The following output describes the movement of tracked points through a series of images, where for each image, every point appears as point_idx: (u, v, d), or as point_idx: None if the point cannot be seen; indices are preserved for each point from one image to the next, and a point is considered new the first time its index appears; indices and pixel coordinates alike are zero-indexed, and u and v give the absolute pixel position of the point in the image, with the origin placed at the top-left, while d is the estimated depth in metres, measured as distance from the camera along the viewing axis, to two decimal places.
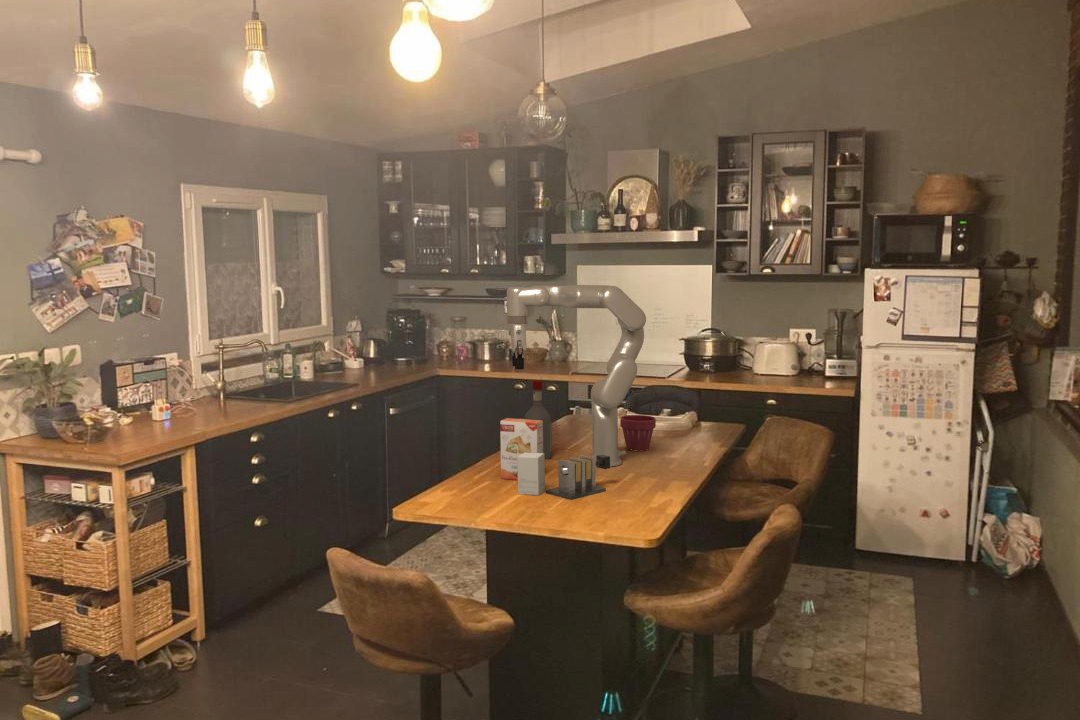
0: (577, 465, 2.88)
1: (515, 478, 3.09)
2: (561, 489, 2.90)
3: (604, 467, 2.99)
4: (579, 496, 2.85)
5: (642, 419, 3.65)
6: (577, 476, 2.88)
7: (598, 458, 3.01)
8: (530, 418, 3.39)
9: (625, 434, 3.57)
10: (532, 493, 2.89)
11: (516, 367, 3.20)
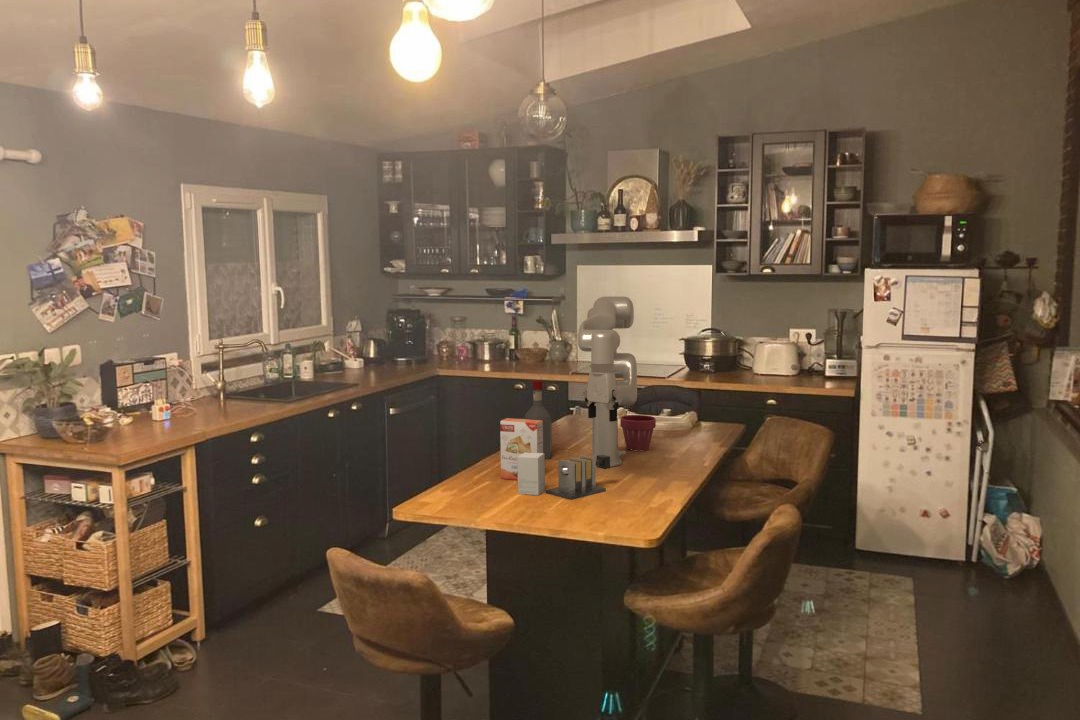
0: (577, 465, 2.88)
1: (515, 478, 3.09)
2: (561, 489, 2.90)
3: (604, 467, 2.99)
4: (579, 496, 2.85)
5: (642, 419, 3.65)
6: (577, 476, 2.88)
7: (598, 458, 3.01)
8: (530, 418, 3.39)
9: (625, 434, 3.57)
10: (532, 493, 2.89)
11: None
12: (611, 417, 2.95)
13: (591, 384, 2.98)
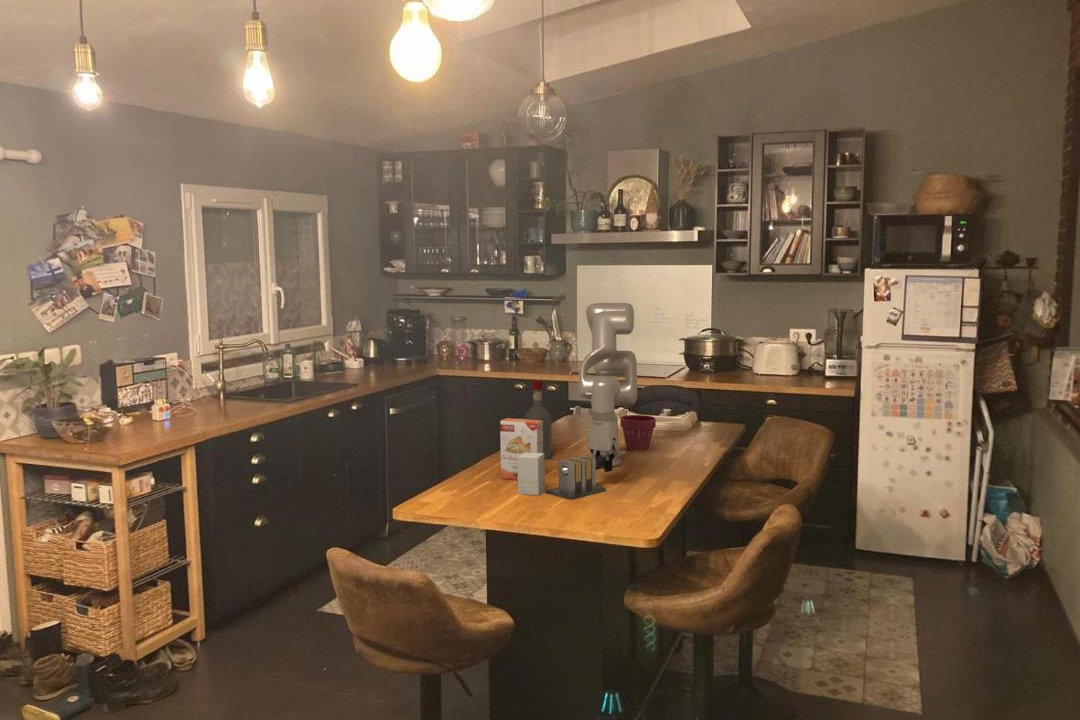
0: (577, 465, 2.88)
1: (515, 478, 3.09)
2: (561, 489, 2.90)
3: (604, 467, 2.99)
4: (579, 496, 2.85)
5: (642, 419, 3.65)
6: (577, 476, 2.88)
7: (598, 458, 3.01)
8: (530, 418, 3.39)
9: (625, 434, 3.57)
10: (532, 493, 2.89)
11: None
12: (606, 467, 2.98)
13: (592, 432, 2.99)
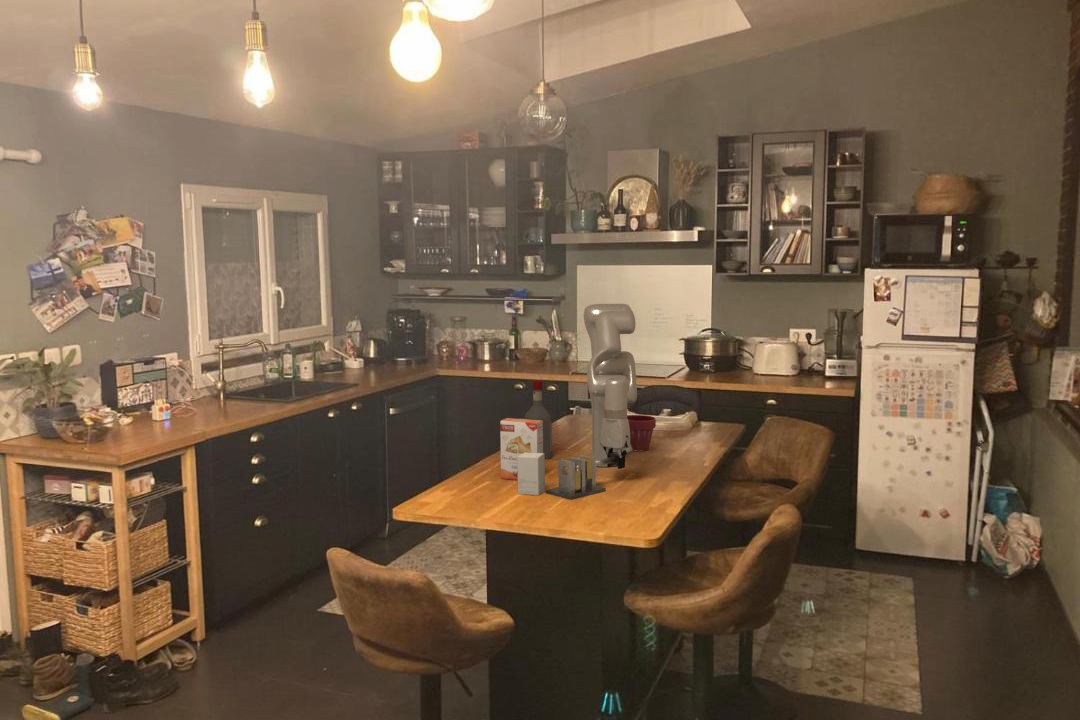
0: (576, 474, 2.88)
1: (515, 478, 3.09)
2: (561, 489, 2.90)
3: None
4: (579, 496, 2.85)
5: (642, 419, 3.65)
6: (577, 485, 2.89)
7: (611, 455, 3.05)
8: (530, 418, 3.39)
9: None
10: (532, 493, 2.89)
11: None
12: (619, 464, 3.02)
13: (605, 430, 3.04)
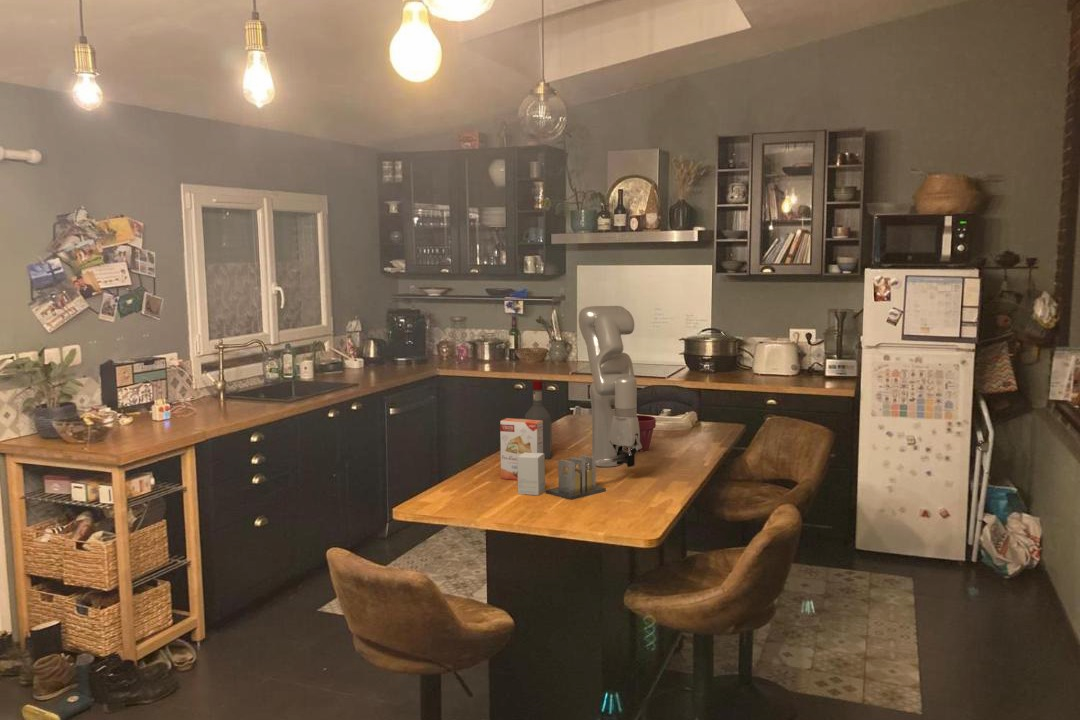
0: (576, 475, 2.88)
1: (515, 478, 3.09)
2: (561, 489, 2.90)
3: (626, 462, 3.07)
4: (579, 496, 2.85)
5: (642, 419, 3.65)
6: (576, 486, 2.89)
7: (620, 453, 3.08)
8: (530, 418, 3.39)
9: None
10: (532, 493, 2.89)
11: None
12: (629, 462, 3.06)
13: (615, 428, 3.07)
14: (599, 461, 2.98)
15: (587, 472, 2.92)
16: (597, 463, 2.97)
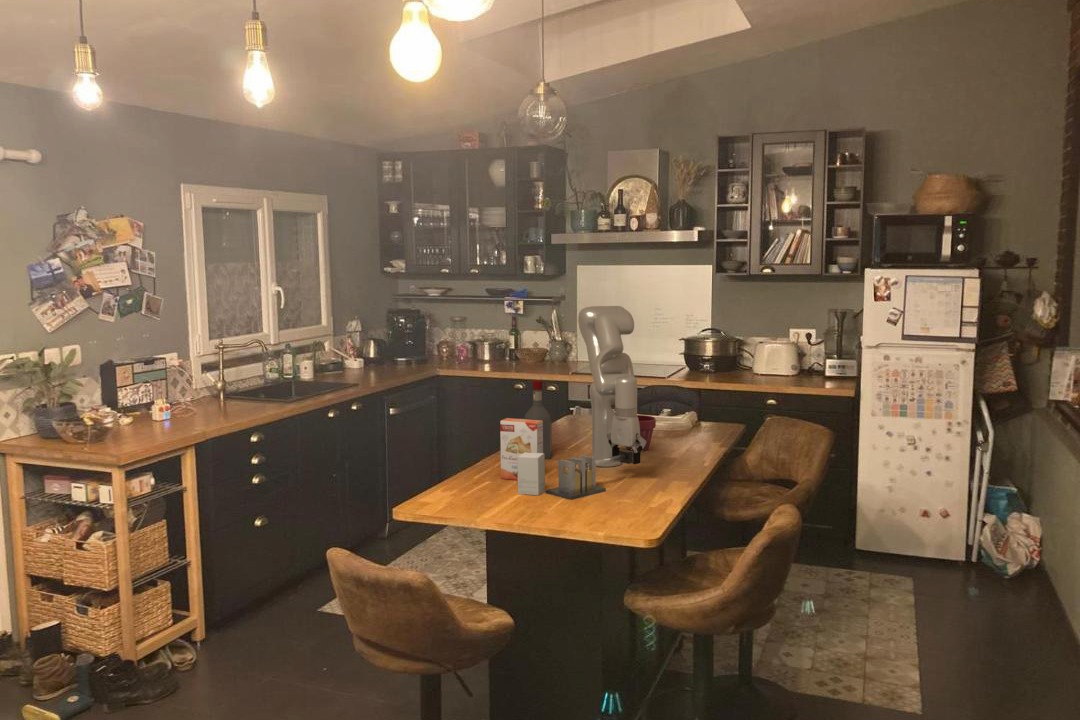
0: (576, 475, 2.88)
1: (515, 478, 3.09)
2: (561, 489, 2.90)
3: (627, 462, 3.07)
4: (579, 496, 2.85)
5: (642, 419, 3.65)
6: (576, 486, 2.89)
7: (621, 453, 3.08)
8: (530, 418, 3.39)
9: None
10: (532, 493, 2.89)
11: None
12: (635, 460, 3.04)
13: (615, 428, 3.07)
14: (599, 461, 2.99)
15: (587, 472, 2.92)
16: (597, 463, 2.98)
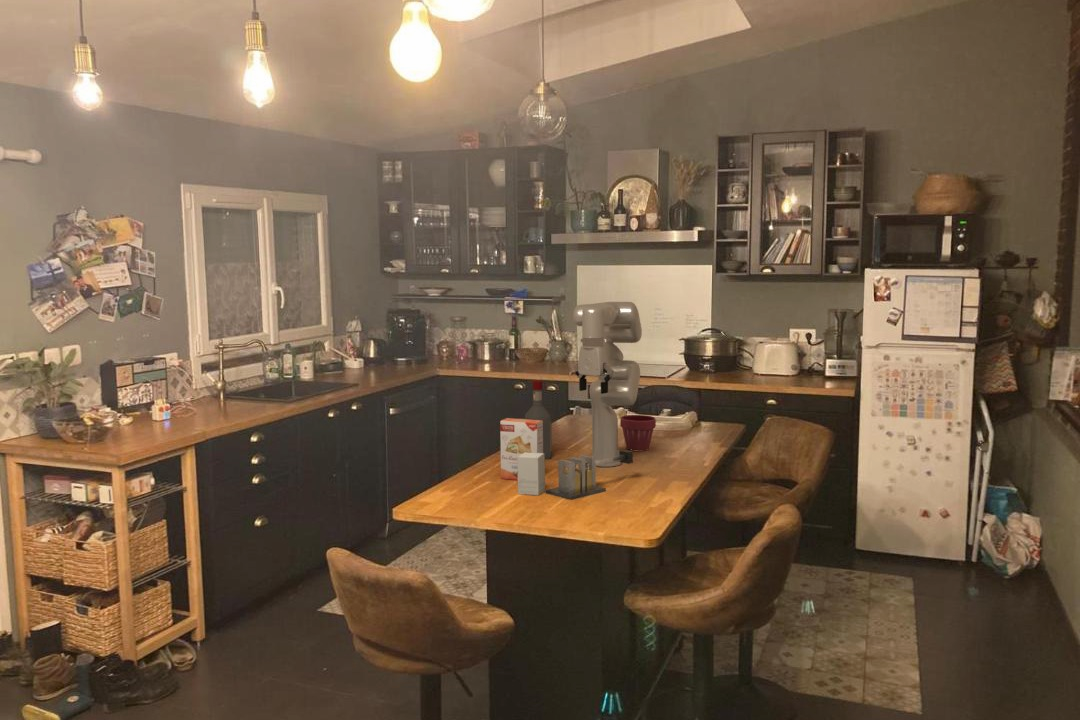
0: (576, 475, 2.88)
1: (515, 478, 3.09)
2: (561, 489, 2.90)
3: (627, 462, 3.07)
4: (579, 496, 2.85)
5: (642, 419, 3.65)
6: (576, 486, 2.89)
7: (621, 453, 3.08)
8: (530, 418, 3.39)
9: (625, 434, 3.57)
10: (532, 493, 2.89)
11: None
12: (602, 389, 3.06)
13: (583, 358, 3.08)
14: (599, 461, 2.99)
15: (587, 472, 2.92)
16: (597, 463, 2.98)
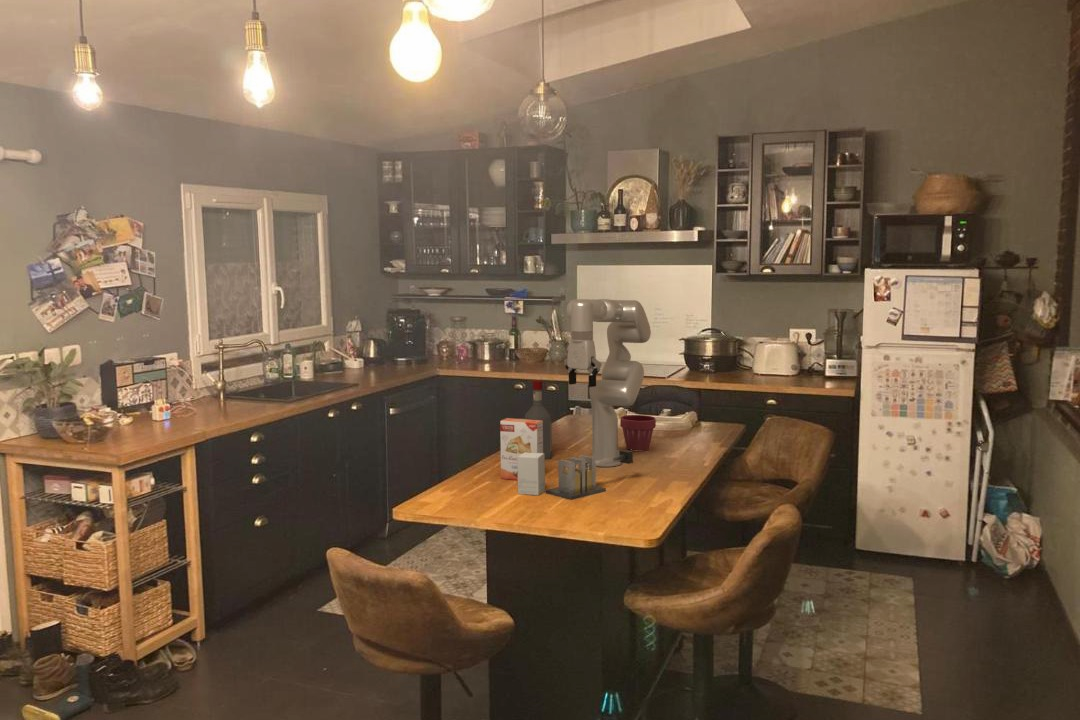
0: (576, 475, 2.88)
1: (515, 478, 3.09)
2: (561, 489, 2.90)
3: (627, 462, 3.07)
4: (579, 496, 2.85)
5: (642, 419, 3.65)
6: (576, 486, 2.89)
7: (621, 453, 3.08)
8: (530, 418, 3.39)
9: (625, 434, 3.57)
10: (532, 493, 2.89)
11: None
12: (590, 382, 3.07)
13: (571, 351, 3.10)
14: (599, 461, 2.99)
15: (587, 472, 2.92)
16: (597, 463, 2.98)
